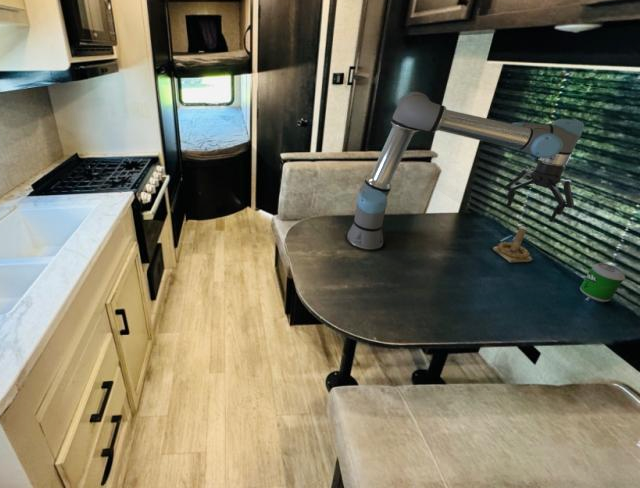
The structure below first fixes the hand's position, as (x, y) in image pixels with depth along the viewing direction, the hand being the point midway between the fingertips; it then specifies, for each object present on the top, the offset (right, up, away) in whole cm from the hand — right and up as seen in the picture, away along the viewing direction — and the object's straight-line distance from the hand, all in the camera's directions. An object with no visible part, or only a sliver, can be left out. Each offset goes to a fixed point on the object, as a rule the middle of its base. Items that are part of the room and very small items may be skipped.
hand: (528, 213), depth 123 cm
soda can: (+11, -28, -13) cm, 33 cm away
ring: (0, -16, +7) cm, 18 cm away
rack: (0, -18, +8) cm, 20 cm away
